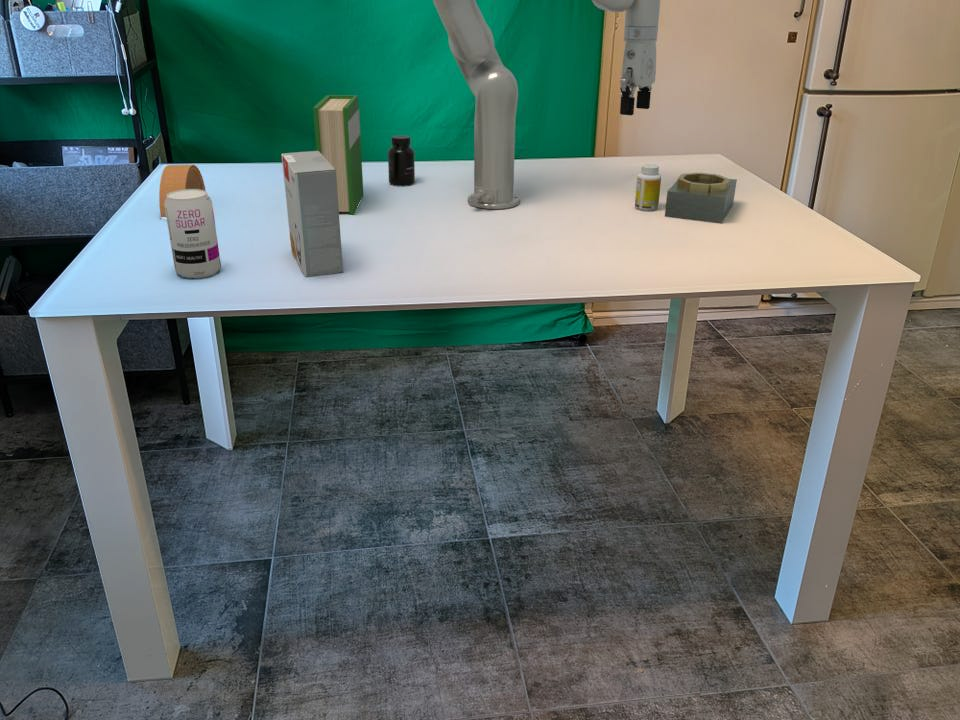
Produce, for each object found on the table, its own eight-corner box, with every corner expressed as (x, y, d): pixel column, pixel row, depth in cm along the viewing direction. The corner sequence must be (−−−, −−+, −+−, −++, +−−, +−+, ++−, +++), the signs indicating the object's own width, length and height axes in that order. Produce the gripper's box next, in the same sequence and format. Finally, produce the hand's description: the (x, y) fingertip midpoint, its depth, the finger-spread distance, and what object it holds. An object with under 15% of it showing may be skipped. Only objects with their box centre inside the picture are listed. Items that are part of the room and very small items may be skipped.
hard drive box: (290, 252, 165) (280, 152, 156) (328, 248, 168) (320, 150, 159) (304, 278, 152) (294, 171, 143) (344, 273, 155) (337, 167, 146)
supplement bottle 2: (662, 208, 196) (667, 165, 191) (648, 213, 192) (653, 169, 188) (643, 203, 199) (647, 161, 195) (629, 208, 196) (633, 165, 191)
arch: (207, 197, 202) (201, 156, 198) (186, 220, 184) (179, 176, 180) (183, 197, 202) (177, 156, 197) (160, 221, 184) (152, 176, 180)
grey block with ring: (721, 223, 185) (726, 191, 182) (664, 216, 190) (668, 184, 186) (735, 199, 203) (740, 169, 200) (683, 193, 208) (686, 164, 205)
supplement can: (207, 261, 160) (195, 185, 153) (229, 272, 155) (219, 194, 148) (168, 272, 154) (154, 193, 148) (190, 283, 149) (177, 202, 143)
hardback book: (353, 215, 189) (347, 108, 178) (321, 215, 189) (313, 107, 178) (363, 195, 204) (358, 95, 194) (333, 194, 204) (326, 95, 194)
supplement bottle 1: (413, 186, 212) (412, 139, 207) (387, 186, 212) (385, 139, 207) (416, 180, 218) (414, 134, 213) (390, 179, 218) (388, 134, 213)
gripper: (641, 38, 178) (635, 118, 186) (670, 32, 191) (663, 107, 199) (609, 36, 182) (605, 115, 190) (639, 30, 195) (634, 104, 203)
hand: (634, 111), depth 194 cm, fingers open, 9 cm apart
